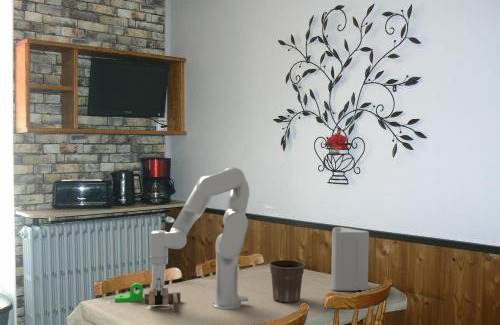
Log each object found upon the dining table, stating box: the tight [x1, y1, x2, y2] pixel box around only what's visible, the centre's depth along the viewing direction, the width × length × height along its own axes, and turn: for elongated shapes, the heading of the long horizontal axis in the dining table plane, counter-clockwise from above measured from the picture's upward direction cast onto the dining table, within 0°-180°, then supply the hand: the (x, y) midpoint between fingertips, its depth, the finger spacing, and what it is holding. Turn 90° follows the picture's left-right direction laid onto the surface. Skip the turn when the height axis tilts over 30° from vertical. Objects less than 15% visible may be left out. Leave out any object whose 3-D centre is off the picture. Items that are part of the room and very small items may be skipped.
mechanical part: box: [114, 282, 144, 303], centre depth 241 cm, size 12×6×8 cm, turn 101°
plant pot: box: [268, 259, 306, 304], centre depth 245 cm, size 16×16×16 cm
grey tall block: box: [330, 226, 370, 291], centre depth 267 cm, size 19×15×28 cm
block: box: [148, 287, 169, 306], centre depth 231 cm, size 5×8×6 cm, turn 100°
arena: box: [143, 291, 181, 313], centre depth 231 cm, size 16×16×4 cm
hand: (158, 302), depth 231 cm, fingers closed on block, 5 cm apart
